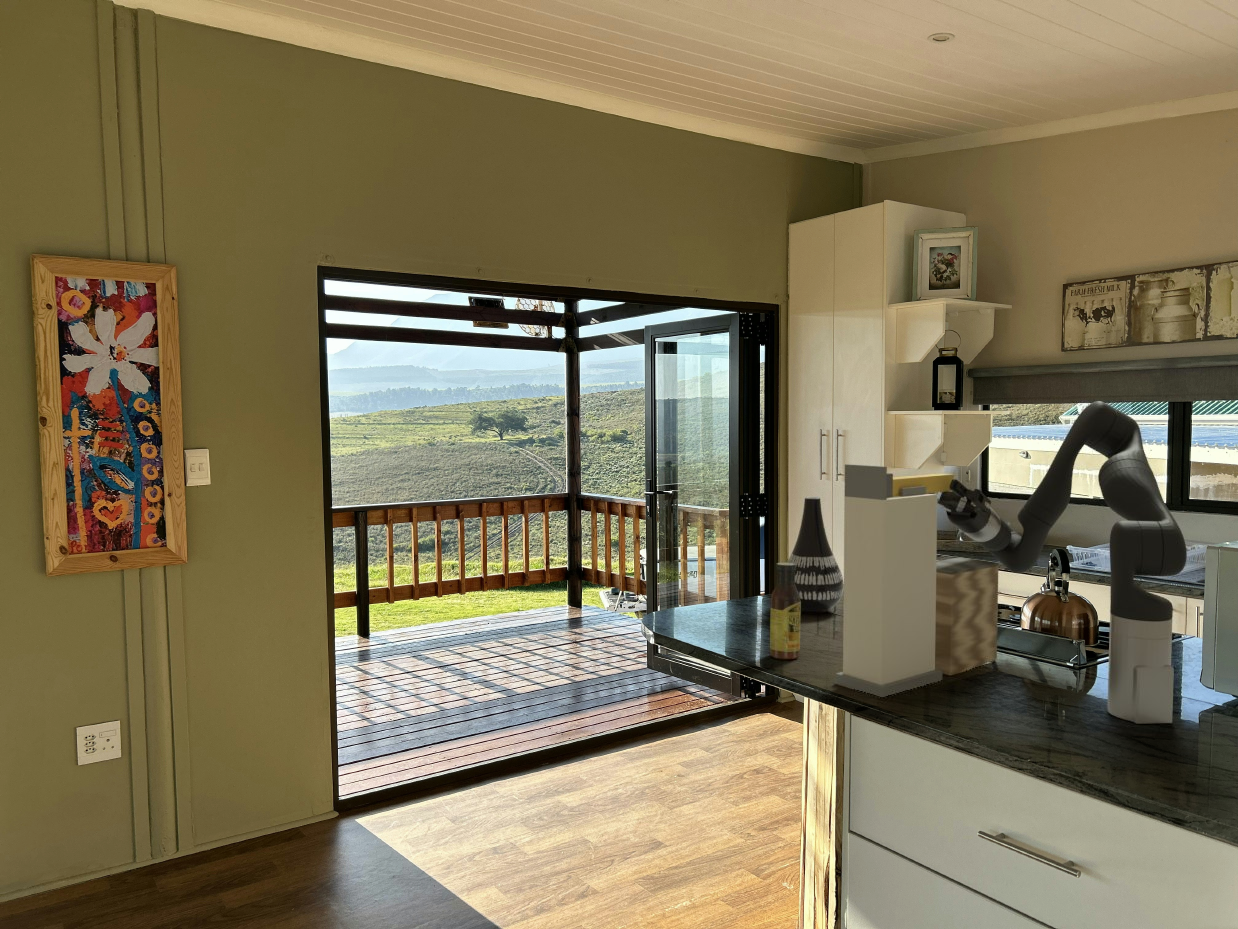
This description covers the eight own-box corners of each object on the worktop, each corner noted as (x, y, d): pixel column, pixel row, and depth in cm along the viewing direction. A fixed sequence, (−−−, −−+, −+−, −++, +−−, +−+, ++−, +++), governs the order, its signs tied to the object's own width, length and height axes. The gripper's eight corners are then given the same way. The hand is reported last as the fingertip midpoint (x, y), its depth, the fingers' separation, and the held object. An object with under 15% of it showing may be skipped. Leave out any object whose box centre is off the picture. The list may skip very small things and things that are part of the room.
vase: (779, 604, 247) (779, 494, 245) (840, 605, 245) (841, 494, 243) (781, 617, 231) (782, 500, 229) (846, 619, 229) (847, 501, 227)
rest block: (950, 675, 181) (951, 571, 180) (911, 665, 188) (912, 565, 187) (996, 661, 191) (998, 562, 189) (958, 652, 198) (959, 557, 197)
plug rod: (878, 498, 169) (879, 474, 169) (859, 496, 173) (859, 473, 173) (956, 490, 183) (956, 468, 183) (937, 489, 187) (937, 467, 187)
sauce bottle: (793, 662, 191) (793, 567, 190) (765, 658, 195) (765, 564, 193) (804, 655, 197) (805, 562, 196) (777, 651, 200) (777, 560, 199)
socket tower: (882, 698, 168) (885, 467, 165) (835, 683, 176) (837, 464, 174) (942, 680, 178) (945, 463, 175) (895, 667, 187) (897, 460, 184)
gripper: (949, 498, 198) (909, 463, 189) (1011, 504, 186) (971, 466, 178) (938, 530, 196) (897, 496, 187) (1000, 537, 185) (959, 501, 176)
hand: (933, 482), depth 183 cm, fingers open, 8 cm apart
